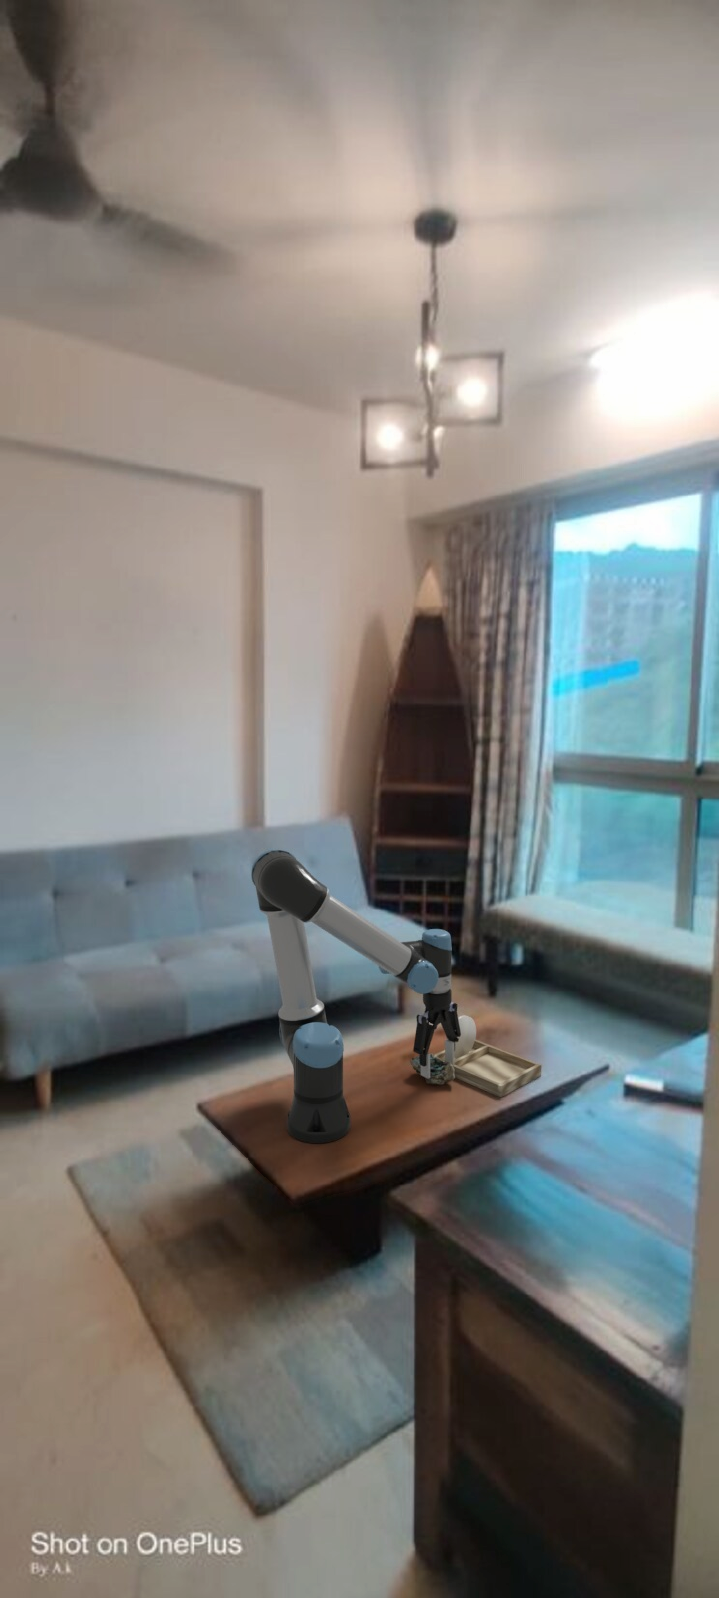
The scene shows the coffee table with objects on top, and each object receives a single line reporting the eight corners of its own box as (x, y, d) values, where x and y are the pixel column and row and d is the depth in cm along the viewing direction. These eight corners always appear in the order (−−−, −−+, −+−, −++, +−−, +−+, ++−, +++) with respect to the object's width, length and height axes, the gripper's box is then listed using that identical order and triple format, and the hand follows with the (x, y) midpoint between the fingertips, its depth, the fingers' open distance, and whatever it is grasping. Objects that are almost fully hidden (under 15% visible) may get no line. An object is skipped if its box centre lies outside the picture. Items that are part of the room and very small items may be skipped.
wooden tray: (500, 1097, 202) (501, 1086, 201) (430, 1066, 219) (430, 1056, 219) (541, 1075, 214) (541, 1064, 213) (471, 1047, 231) (471, 1037, 231)
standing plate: (448, 1064, 218) (449, 1022, 217) (445, 1063, 219) (446, 1021, 217) (475, 1051, 226) (476, 1011, 225) (473, 1050, 227) (473, 1010, 226)
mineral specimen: (405, 1071, 214) (410, 1049, 211) (430, 1060, 219) (436, 1038, 216) (434, 1102, 206) (440, 1080, 202) (460, 1090, 211) (466, 1068, 207)
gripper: (419, 1003, 197) (420, 1089, 200) (474, 981, 212) (474, 1061, 215) (398, 996, 203) (399, 1079, 205) (453, 974, 217) (453, 1052, 220)
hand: (437, 1070), depth 210 cm, fingers open, 9 cm apart
